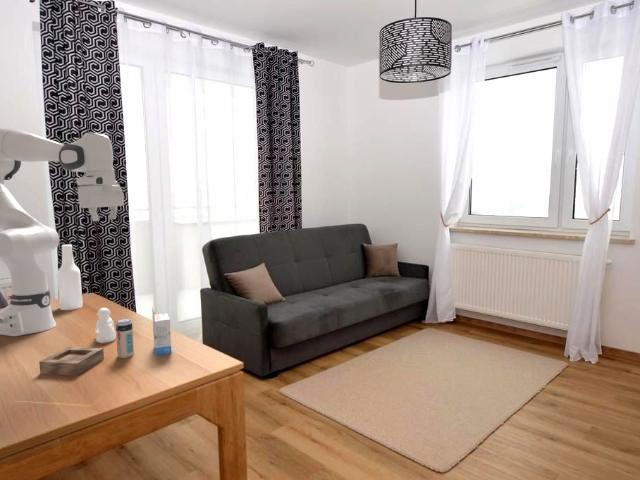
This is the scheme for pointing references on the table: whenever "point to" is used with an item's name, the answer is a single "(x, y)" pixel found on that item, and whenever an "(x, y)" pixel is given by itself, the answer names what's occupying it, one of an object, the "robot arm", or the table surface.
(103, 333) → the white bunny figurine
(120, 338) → the beer can
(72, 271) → the alcohol
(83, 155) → the robot arm
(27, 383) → the table surface
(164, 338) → the ink box
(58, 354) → the brown square tray
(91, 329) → the table surface
